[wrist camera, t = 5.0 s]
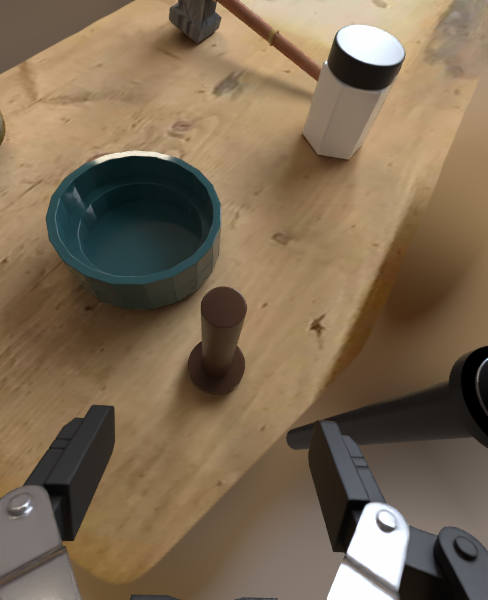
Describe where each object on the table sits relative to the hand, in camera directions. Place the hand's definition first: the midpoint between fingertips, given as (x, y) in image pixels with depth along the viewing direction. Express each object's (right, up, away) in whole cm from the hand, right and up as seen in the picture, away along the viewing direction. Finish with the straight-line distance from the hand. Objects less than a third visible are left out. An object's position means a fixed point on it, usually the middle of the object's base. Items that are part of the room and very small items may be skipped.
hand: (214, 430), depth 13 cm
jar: (+14, +28, +34) cm, 46 cm away
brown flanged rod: (-1, -1, +18) cm, 18 cm away
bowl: (-9, +11, +23) cm, 27 cm away
